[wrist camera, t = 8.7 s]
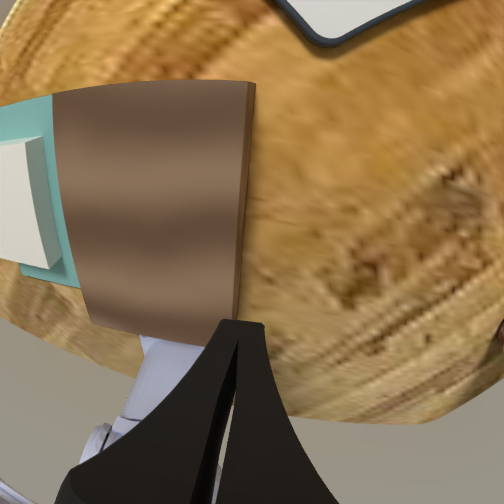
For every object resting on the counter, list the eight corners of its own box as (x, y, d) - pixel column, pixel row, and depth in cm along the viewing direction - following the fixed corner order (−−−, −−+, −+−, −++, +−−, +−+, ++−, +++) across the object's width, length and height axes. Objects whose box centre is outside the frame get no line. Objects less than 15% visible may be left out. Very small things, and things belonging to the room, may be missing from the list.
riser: (237, 311, 23) (230, 350, 20) (113, 291, 24) (91, 323, 20) (255, 83, 15) (247, 81, 11) (91, 88, 15) (52, 93, 12)
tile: (-2, 257, 20) (11, 246, 22) (49, 269, 20) (62, 256, 22) (-26, 149, 15) (-9, 143, 17) (24, 142, 15) (43, 135, 17)
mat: (108, 290, 24) (106, 293, 23) (24, 272, 24) (22, 274, 24) (84, 88, 15) (81, 89, 15) (-7, 109, 16) (-10, 110, 15)
